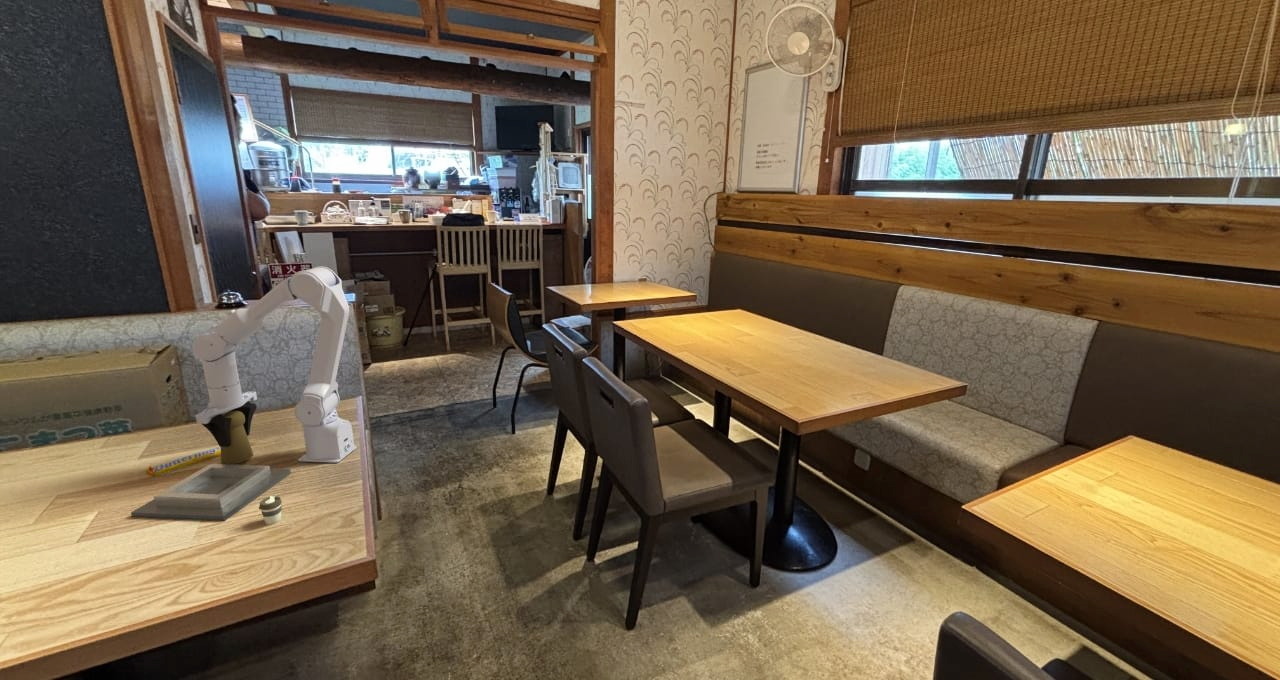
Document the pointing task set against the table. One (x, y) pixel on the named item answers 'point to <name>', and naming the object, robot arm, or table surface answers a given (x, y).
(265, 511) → the coffee cup
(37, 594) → the table surface
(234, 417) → the brown rounded piece
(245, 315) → the robot arm
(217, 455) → the candy bar
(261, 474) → the socket board
